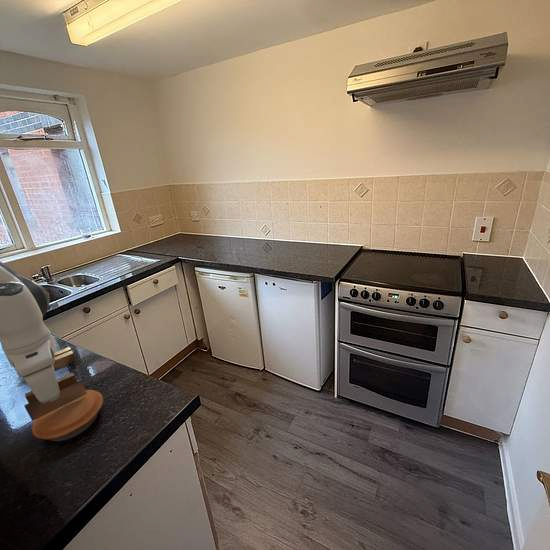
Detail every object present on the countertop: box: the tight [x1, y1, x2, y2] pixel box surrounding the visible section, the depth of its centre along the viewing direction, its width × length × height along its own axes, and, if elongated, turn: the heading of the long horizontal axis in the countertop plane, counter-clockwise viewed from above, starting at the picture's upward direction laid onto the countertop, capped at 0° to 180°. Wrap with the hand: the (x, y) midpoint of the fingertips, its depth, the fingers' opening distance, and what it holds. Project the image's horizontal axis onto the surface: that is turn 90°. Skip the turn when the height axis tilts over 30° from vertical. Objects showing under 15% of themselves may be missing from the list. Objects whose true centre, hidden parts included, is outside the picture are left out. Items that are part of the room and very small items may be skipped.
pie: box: [31, 389, 104, 442], centre depth 76 cm, size 15×16×5 cm
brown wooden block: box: [23, 372, 87, 422], centre depth 75 cm, size 12×2×7 cm, turn 132°
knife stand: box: [22, 346, 77, 383], centre depth 99 cm, size 14×6×4 cm, turn 132°
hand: (53, 395), depth 74 cm, fingers closed on brown wooden block, 2 cm apart
